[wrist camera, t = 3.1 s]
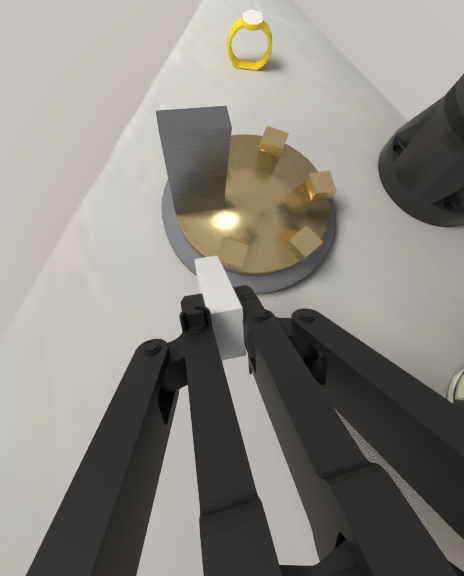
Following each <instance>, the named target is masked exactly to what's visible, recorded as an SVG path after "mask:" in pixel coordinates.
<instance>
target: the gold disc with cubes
mask: <svg viewBox="0 0 464 576" xmlns="http://www.w3.org/2000/svg"><path fill="white" fill-rule="evenodd" d="M156 115H157V122H158V128H159V134H160V139H161V144H162V149H163V154H164V159H165V164H166V169H167V174H168V179H169V184H170V189H171V194H172V199H173V204H174V209H175V214H176V217H177V221H178V224H179V227H180V229H181V232H182V234H183V235H184V237H185V239H186V241H187V242H188V243H189V244H190V246H191V247H192V248H193V249H194V250H195V251H196V252H197V253H198V254H199V255H200V256H201V257H203V258H205V257H211V256H218V258H219V260H220V262H221V264H222V266H223V268H224V270H226V271H229V272H232V273H236V274H241V275H248V276H262V275H270V274H274V273H279V272H281V271H284V270H287V269H289V268H291V267H293V266H295V265H296V264H298V263H299V262H300V261H301V262H302V261H303V260H305V259H306V258H307V257H308V256H309V255H310V254H312V253H313V252H314V251H315V250H316V249H317V248H319V246H320V245H321V244H322V243H323V241H322V240H321V238H322V236H323V235H324V233H325V230H326V228H327V225H328V221H329V215H330V203H329V198H332V197H333V195H334V194H335V192H336V188H335V186H334V183H333V180H332V177H331V174H330V171H325V172H318V171H317V170H316V168H315V167H314V166H313V164H312V163H311V162H310V161H309V160H308V159H307V158H306V157H304V156H303V155H302V154H301V153H300V152H298V151H297V150H295V149H294V148H292V147H290V146H288V145H286V144H285V142H286V139H287V136H288V134H289V133H286V132H283V131H280V130H278V129H275V128H272V127H269V126H267V127H266V130H265V132H264V135H263V136H258V135H233V136H231V130H232V126H231V122H230V118H229V114H228V110H227V106H217V107H203V108H189V109H174V110H160V111H156Z"/></svg>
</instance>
